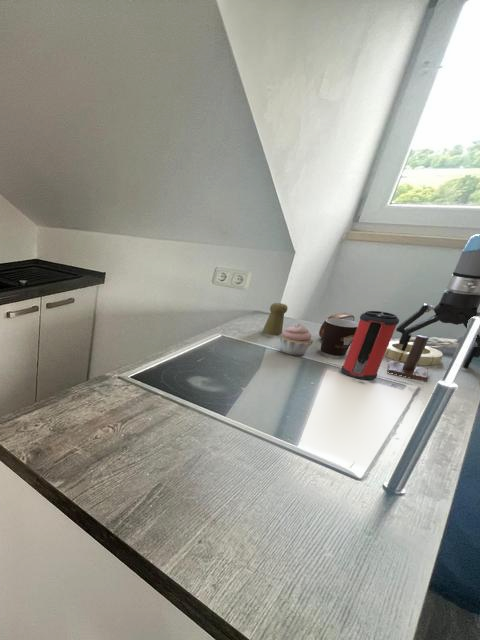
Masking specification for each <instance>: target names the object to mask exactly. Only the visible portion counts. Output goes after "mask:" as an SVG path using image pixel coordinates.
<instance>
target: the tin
mask: <svg viewBox="0 0 480 640" xmlns="http://www.w3.org/2000/svg"><path fill="white" fill-rule="evenodd" d="M326 319H344V320H350V321H354V322H355V316H354V314H351V313H347V312H341V313H336V314H331V315H330V316H328V317H327V318H326ZM324 326H325V320H324V321H323V322H322V324H321V326H320V328H319V331H318V336H319V338H322V337H323V332H324Z"/></svg>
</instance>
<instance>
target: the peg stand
mask: <svg viewBox="0 0 480 640" xmlns="http://www.w3.org/2000/svg"><path fill="white" fill-rule="evenodd" d="M429 339H430V336H428V335H424V334H417V335H416V336H415V338H414V341H413V342H412V343H413V345H412V348H411V350H410V352H409V355H408V357H407V359H406V361H405V362H404V363H403V362H398V361H392V360H390V361H389V363H388V365H389V366H388V365H387V372H389V373H393V374H392V375H394V374H397V375H396V376H398V377H400V376H399V375H402V376H401V377H403V376H406V377H405V378H407V379H412V380H416V381H422V380H423V381H422V382H426V383H427V382H428V380H429V375H430V374H429V368H427V367H423V366H418V365H417V363H418V361H419V359H420V357H421V355H422V352H423V350H424V348H425V346H427V343H428V342H429ZM389 373H387V374H388V375H390V374H389ZM394 376H395V375H394ZM408 377H410V378H408ZM403 378H404V377H403ZM413 378H414V379H413Z"/></svg>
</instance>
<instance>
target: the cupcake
mask: <svg viewBox="0 0 480 640" xmlns="http://www.w3.org/2000/svg"><path fill="white" fill-rule="evenodd" d="M278 339H279V341H280V351H281V352H282V353H284V354H286V355H290V356H303V355H305V354H306V352H307V350H308V349H309V347H310V346H312V344H313V343H314V339H312V333H311V332H310V330H309V329H308V328H307V326H306V325H305V324H302V323H301V322H299V323H298V324H297V325H291V326H289V327H288V328H286V329H284V330H282V335H278Z"/></svg>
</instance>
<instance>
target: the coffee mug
mask: <svg viewBox="0 0 480 640" xmlns="http://www.w3.org/2000/svg"><path fill="white" fill-rule="evenodd" d="M324 321H325V326H324V332H323V337H321V344H320V349H319V351H320V352H322V353H323V354H326V355H330V356H335V357H342V356H346V355H347V353H348V351H349V349H350V346H351V343H352V340H353V338H354V335H355V332H356V329H357V327H358V324H359V322H356V321H355V320H354V321H350V320H344V319H327V318H326V319H325V320H324Z"/></svg>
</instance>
